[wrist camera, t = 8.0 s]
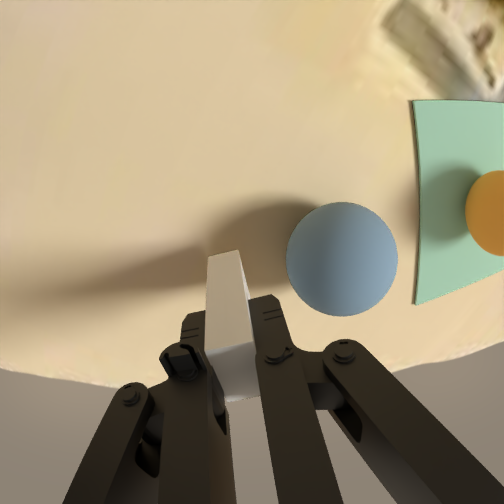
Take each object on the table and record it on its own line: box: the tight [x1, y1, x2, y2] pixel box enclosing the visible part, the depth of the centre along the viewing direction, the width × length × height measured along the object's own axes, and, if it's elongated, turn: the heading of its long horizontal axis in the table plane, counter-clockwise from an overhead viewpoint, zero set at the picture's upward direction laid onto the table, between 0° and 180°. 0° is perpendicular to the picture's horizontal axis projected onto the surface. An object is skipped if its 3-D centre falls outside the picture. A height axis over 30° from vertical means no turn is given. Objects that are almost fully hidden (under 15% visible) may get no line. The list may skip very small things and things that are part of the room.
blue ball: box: [286, 202, 398, 316], centre depth 15 cm, size 6×6×6 cm
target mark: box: [412, 100, 504, 305], centre depth 17 cm, size 14×14×1 cm
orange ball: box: [465, 170, 504, 256], centre depth 15 cm, size 6×6×6 cm
